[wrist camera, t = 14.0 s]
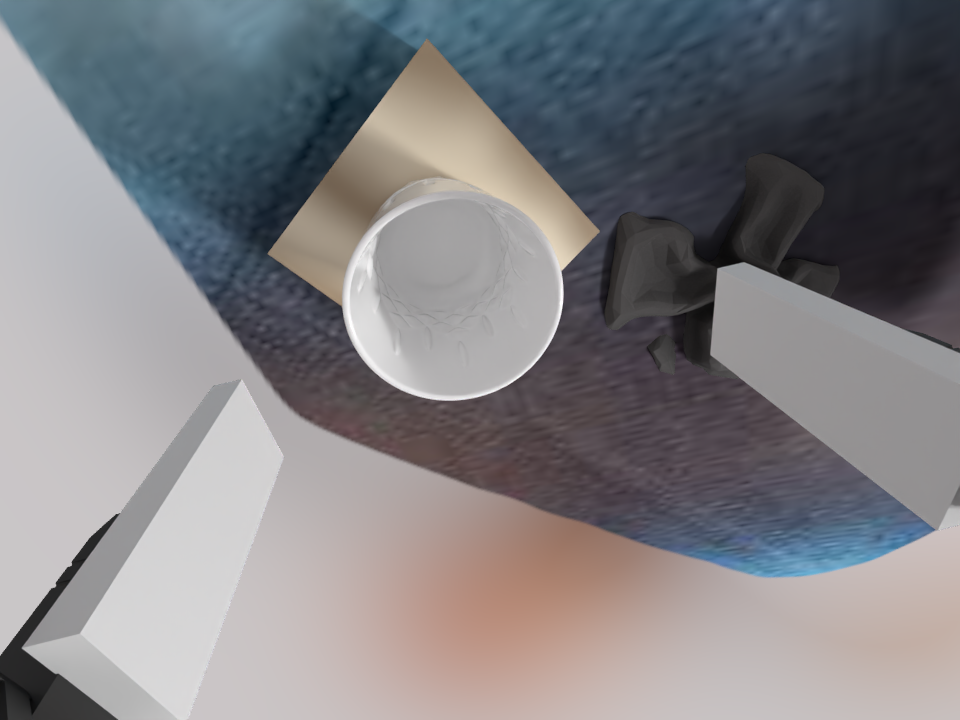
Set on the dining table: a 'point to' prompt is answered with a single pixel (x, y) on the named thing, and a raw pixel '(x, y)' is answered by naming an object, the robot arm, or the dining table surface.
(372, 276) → the white cup
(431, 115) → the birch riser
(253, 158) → the dining table surface
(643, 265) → the cloth
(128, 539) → the robot arm
